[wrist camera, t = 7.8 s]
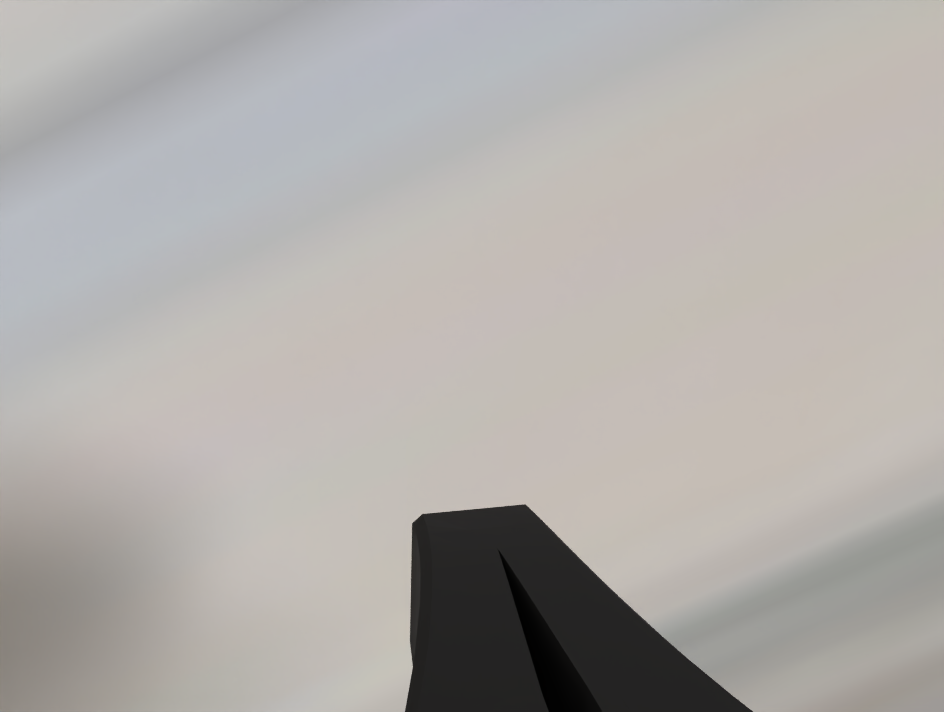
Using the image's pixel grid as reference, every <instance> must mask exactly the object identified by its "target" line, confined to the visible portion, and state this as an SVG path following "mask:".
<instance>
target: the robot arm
mask: <svg viewBox="0 0 944 712" xmlns="http://www.w3.org/2000/svg"><path fill="white" fill-rule="evenodd" d="M410 645H411V653H412V662H413V670H412V676H411V682H410V687H409V693H408V698H407V704H406V709H405V712H753V711H752V710H750V709H749V708H748V707H746V706H745V705H744V704H742V703H741V702H740V701H739V700H737V699H736V698H735V697H733V696H732V695H731V694H730V693H729V692H727V691H726V690H725V689H724V688H722V687H721V686H720V685H719V684H718V683H716V682H715V681H714V680H713V679H712V678H710V677H709V676H708V675H707V674H705V673H704V672H703V671H702V670H701V669H699V668H698V667H697V666H696V665H695V664H693V663H692V662H691V661H690V660H689V659H687V658H686V657H685V656H684V655H683V654H682V653H681V652H679V651H678V650H677V649H676V648H675V647H674V646H672V645H671V644H670V643H669V642H668V641H667V640H666V639H664V638H663V637H662V636H661V635H660V634H659V633H658V632H657V631H656V630H655V629H654V628H652V627H651V626H650V625H649V624H648V623H647V622H646V621H645V620H644V619H643V618H642V617H640V616H639V615H638V614H637V613H636V612H635V611H634V610H633V609H632V608H631V607H630V606H629V605H627V604H626V603H625V602H624V601H623V600H622V599H621V598H620V597H619V596H618V595H617V594H616V593H615V592H614V591H613V590H611V589H610V588H609V587H608V586H607V585H606V584H605V583H604V582H603V581H602V580H601V579H600V578H599V577H598V576H597V575H596V574H595V573H594V572H593V571H592V570H591V569H590V568H589V567H588V566H587V565H586V564H585V563H584V562H583V561H582V560H581V559H580V558H579V557H578V556H577V555H576V554H575V553H574V552H573V551H572V550H571V549H570V548H569V547H568V546H567V545H566V544H565V543H564V542H563V541H562V540H561V539H560V538H559V537H558V536H557V535H556V534H555V533H554V532H553V531H552V530H551V529H550V528H549V527H548V526H547V525H546V524H545V523H544V522H543V521H542V520H541V519H540V518H539V517H538V516H537V515H536V514H535V513H534V512H533V511H532V510H531V509H530V508H529V507H528V506H526V505H515V506H504V507H494V508H483V509H472V510H462V511H451V512H441V513H430V514H422V515H421V516H420V517H419V518H418V519H417V520H416V521H414V522H413V523H412V567H411V620H410Z"/></svg>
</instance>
